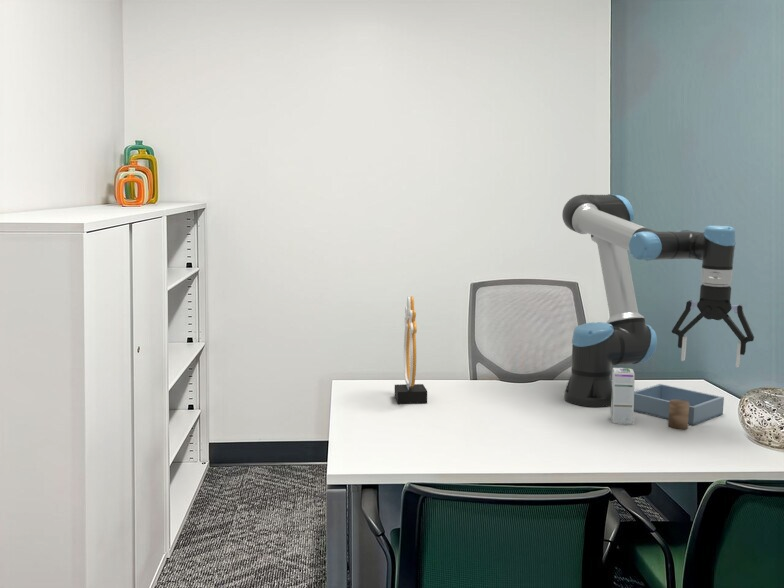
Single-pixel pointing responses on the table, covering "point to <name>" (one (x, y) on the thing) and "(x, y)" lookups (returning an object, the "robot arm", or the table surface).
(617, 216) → the robot arm
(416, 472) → the table surface
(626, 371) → the syrup box
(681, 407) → the walnut cylinder
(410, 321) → the abstract figure sculpture
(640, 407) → the tote
